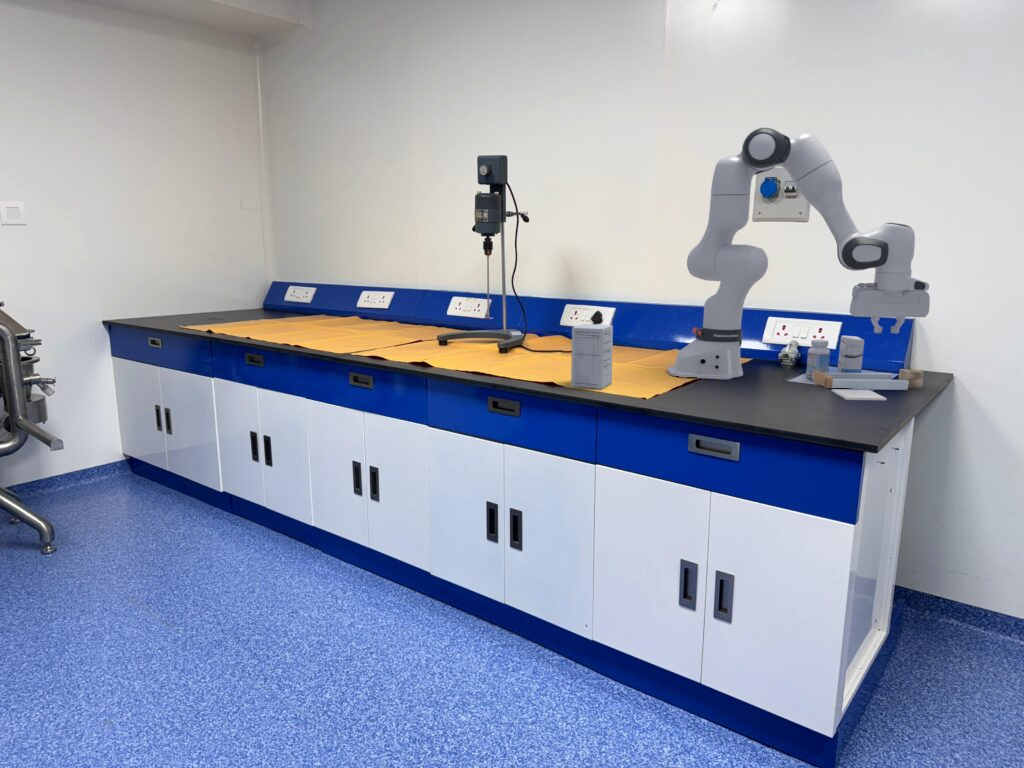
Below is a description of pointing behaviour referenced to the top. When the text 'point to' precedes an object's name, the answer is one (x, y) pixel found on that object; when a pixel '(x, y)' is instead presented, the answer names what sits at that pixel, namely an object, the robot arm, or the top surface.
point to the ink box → (850, 354)
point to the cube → (912, 377)
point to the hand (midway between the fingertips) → (886, 333)
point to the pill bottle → (818, 357)
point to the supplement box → (592, 356)
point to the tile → (858, 394)
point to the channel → (859, 380)
